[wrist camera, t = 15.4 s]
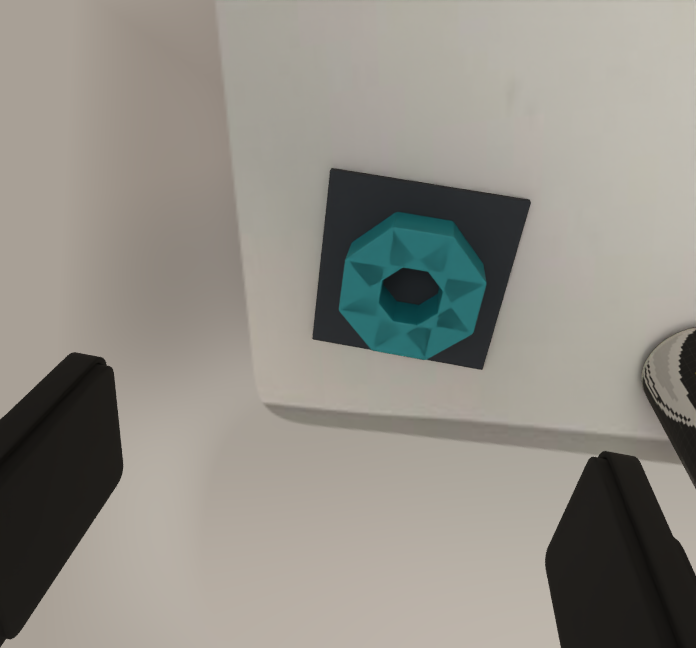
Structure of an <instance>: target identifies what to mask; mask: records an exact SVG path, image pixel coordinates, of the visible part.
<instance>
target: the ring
mask: <svg viewBox="0 0 696 648" xmlns="http://www.w3.org/2000/svg"><path fill="white" fill-rule="evenodd" d="M401 268H409V269H415V270H421V271H426V272H429V274H430V275H431V276H432V278H433V279H434V280H435V282H436V283H437V284H438V286H439V290H438V294H436V295H435V296H433V297H431V298H430V299H428V300H426V301H425V302H423V303H421V304H420V305H416V304H410V303H404V302H399V301H396V300H395V299H394V297H393V296H392V295H391V294H390V292H389V291H388V290H387V288H386V287H385V286H384V285H383V281H384V279H386V278H387V277H389V276H391V275H392V274H394V273H395V272H397V271H398V270H400V269H401ZM485 288H486V277H485V271H484V265H483V263H482V261H481V260H480V259H479V257H478V256H477V254H476V253H475V251H474V250H473V249H472V247H471V246H470V244H469V243H468V241H467V240H466V239H465V237H464V236H463V234H462V233H461V231H460V230H459V229H458V227H457V226H456V224H455V223H454V222H453V221H450V220H444V219H438V218H432V217H426V216H420V215H414V214H407V213H401V212H396V213H394V214H392V215H391V216H389V217H388V218H386V219H385V220H384V221H382V222H381V223H379V224H378V225H376V226H375V227H373V228H372V229H371V230H369V231H368V232H366V233H365V234H363V235H362V236H360V237H359V238H358V239H356V240H355V241H353V242H352V243H351V246H350V249H349V251H348V254H347V256H346V259H345V265H344V272H343V280H342V288H341V296H340V303H339V311H340V313H341V314H342V315H343V316H344V317H345V319H346V320H347V321H348V322H349V323H350V325H351V326H352V327H353V328H354V329H355V331H356V332H357V333H358V334H359V335H360V337H361V338H362V339H363V340H364V341H365V343H366V344H367V345H368V346H369V347H370V349H371V350H373V351H378V352H384V353H389V354H395V355H400V356H406V357H411V358H417V359H422V360H426V359H428V358H430V357H432V356H434V355H436V354H438V353H439V352H441V351H443V350H445V349H447V348H448V347H450V346H452V345H454V344H456V343H457V342H459V341H461V340H463V339H465V338H467V337H468V336H470V335H472V334H473V332H474V329H475V325H476V321H477V318H478V314H479V310H480V307H481V303H482V299H483V296H484V292H485Z"/></svg>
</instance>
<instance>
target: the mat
mask: <svg viewBox="0 0 696 648" xmlns="http://www.w3.org/2000/svg"><path fill="white" fill-rule="evenodd" d="M530 203H531V202H530V200H528V199H522V198H516V197H509V196H503V195H497V194H491V193H484V192H478V191H472V190H466V189H459V188H453V187H447V186H441V185H434V184H428V183H422V182H416V181H409V180H403V179H397V178H391V177H384V176H378V175H372V174H366V173H359V172H353V171H347V170H341V169H334V168H332V169H331V170H330V178H329V187H328V197H327V206H326V215H325V225H324V234H323V244H322V253H321V263H320V272H319V282H318V291H317V301H316V310H315V320H314V329H313V339H314V340H320V341H326V342H331V343H337V344H342V345H348V346H353V347H359V348H364V349H370V347H369V346H368V345H367V344H366V343H365V341H364V340H363V339H362V338H361V337H360V335H359V334H358V333H357V332H356V331H355V329H354V328H353V327H352V326H351V325H350V323H349V322H348V321H347V320H346V319H345V317H344V316H343V315H342V314H341V313H340V311H339V303H340V296H341V288H342V280H343V272H344V265H345V259H346V256H347V254H348V251H349V249H350V246H351V243H352V242H353V241H355V240H356V239H358V238H359V237H360V236H362V235H363V234H365V233H366V232H368V231H369V230H371V229H372V228H373V227H375V226H376V225H378V224H379V223H381V222H382V221H384V220H385V219H386V218H388V217H389V216H391V215H392V214H394V213H396V212H401V213H407V214H414V215H420V216H426V217H432V218H438V219H444V220H450V221H453V222H454V223H455V224H456V226H457V227H458V229H459V230H460V231H461V233H462V234H463V236H464V237H465V239H466V240H467V241H468V243H469V244H470V246H471V247H472V249H473V250H474V251H475V253H476V254H477V256H478V257H479V259H480V260H481V261H482V263H483V265H484V271H485V277H486V288H485V292H484V296H483V299H482V303H481V307H480V310H479V314H478V318H477V321H476V325H475V329H474V332H473V334H472V335H470V336H468V337H467V338H465V339H463V340H461V341H459V342H457V343H456V344H454V345H452V346H450V347H448V348H447V349H445V350H443V351H441V352H439V353H438V354H436V355H434V356H432V357H430V358H428V359H426V360H431V361H436V362H442V363H447V364H453V365H458V366H464V367H470V368H475V369H481V370H482V369H483V366H484V362H485V359H486V355H487V352H488V348H489V345H490V342H491V338H492V335H493V331H494V328H495V324H496V321H497V317H498V314H499V310H500V307H501V304H502V300H503V297H504V293H505V290H506V286H507V283H508V279H509V276H510V272H511V269H512V266H513V262H514V259H515V255H516V252H517V248H518V245H519V241H520V238H521V234H522V231H523V227H524V224H525V221H526V217H527V214H528V210H529V207H530ZM383 285H384V286H385V287H386V288H387V290H388V291H389V292H390V294H391V295H392V296H393V297H394V299H395V300H396V301H399V302H404V303H410V304H416V305H420V304H421V303H423V302H425V301H426V300H428V299H430V298H431V297H433V296H435V295H436V294H438V290H439V286H438V284H437V283H436V282H435V280H434V279H433V278H432V276H431V275H430V274H429V272H426V271H421V270H415V269H409V268H401V269H400V270H398V271H397V272H395V273H394V274H392V275H391V276H389V277H387V278H386V279H384V281H383ZM370 350H371V349H370Z"/></svg>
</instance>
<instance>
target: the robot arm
mask: <svg viewBox="0 0 696 648" xmlns="http://www.w3.org/2000/svg"><path fill="white" fill-rule="evenodd" d="M122 471H123V458H122V448H121V439H120V428H119V419H118V410H117V400H116V390H115V380H114V372H113V369H112V367H110V366H107V365H106V362H105V360H104V359H103V358H102V357H97V356H92V355H86V354H81V353H76V352H74V353H71V354H69V355H68V356H67V357H66V358H65V359H64V360H63V361H61V362H60V363H59V364H58V365H57V366H56V367H55V368H54V369H53V370H52V371H51V372H50V373H49V374H48V375H47V376H46V377H45V378H44V379H43V380H42V381H41V382H39V384H37V385H36V386H35V387H34V388H33V389H32V390H31V391H30V392H29V393H28V394H27V395H26V396H25V397H24V398H23V399H22V400H21V401H20V402H19V403H18V404H16V405H15V406H14V407H13V408H12V409H11V410H10V411H9V412H8V413H7V414H6V415H5V416H4V417H2V418H1V419H0V647H1V645H2V644H3V643H4V641H5V640H6V639H12V638H14V637H15V636H16V635H18V633H19V632H20V631H21V630H22V628H23V627H24V625H25V624H26V622H27V620H28V619H29V617H30V616H31V614H32V613H33V611H34V610H35V608H36V607H37V605H38V604H39V602H40V601H41V599H42V598H43V596H44V595H45V593H46V592H47V590H48V589H49V587H50V586H51V584H52V583H53V581H54V580H55V578H56V577H57V575H58V574H59V572H60V571H61V569H62V567H63V566H64V565H65V563H66V562H67V560H68V559H69V557H70V555H71V554H72V552H73V551H74V549H75V548H76V546H77V545H78V543H79V542H80V540H81V539H82V537H83V536H84V534H85V533H86V531H87V530H88V528H89V527H90V525H91V524H92V522H93V521H94V519H95V518H96V516H97V515H98V513H99V512H100V510H101V509H102V507H103V506H104V504H105V503H106V501H107V500H108V498H109V497H110V495H111V493H112V492H113V491H114V489H115V487H116V486H117V484H118V482H119V481H120V478H121V476H122ZM545 566H546V573H547V578H548V583H549V588H550V593H551V599H552V603H553V609H554V614H555V619H556V624H557V630H558V634H559V640H560V645H561V648H696V576H695V573H694V571H693V569H692V566H691V564H690V562H689V560H688V558H687V555H686V553H685V551H684V549H683V547H682V546H681V544H680V542H679V541H678V540H677V539H675V538H674V537H673V535H672V533H671V530H670V528H669V526H668V524H667V522H666V519H665V517H664V515H663V512H662V510H661V508H660V506H659V504H658V502H657V499H656V497H655V495H654V492H653V490H652V488H651V486H650V483H649V481H648V479H647V476H646V474H645V472H644V470H643V468H642V465H641V463H640V461H639V460H638V458H636V457H634V456H629V455H624V454H618V453H613V452H608V451H603V452H602V453H600V455H599V456H598V458H597V457H591V458H590V459H589V460H588V462H587V464H586V466H585V468H584V470H583V472H582V475H581V477H580V479H579V481H578V484H577V486H576V488H575V490H574V492H573V494H572V496H571V499H570V501H569V503H568V505H567V507H566V509H565V512H564V514H563V516H562V518H561V520H560V522H559V524H558V527H557V529H556V531H555V533H554V535H553V538H552V540H551V542H550V544H549V546H548V548H547V552H546V558H545Z"/></svg>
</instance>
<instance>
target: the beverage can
mask: <svg viewBox="0 0 696 648" xmlns="http://www.w3.org/2000/svg"><path fill="white" fill-rule="evenodd" d="M642 386H643V390H644V392H645V394H646V396H647V398H648V400H649V402H650V404H651V406H652V408H653V410H654V411H655V413H656V415H657V417H658V419H659V421H660V423H661V425H662V426H663V428H664V430H665V432H666V434H667V436H668V438H669V439H670V441H671V443H672V445H673V447H674V449H675V451H676V453H677V454H678V456H679V458H680V460H681V462H682V464H683V466H684V468H685V469H686V471H687V473H688V475H689V477H690V479H691V481H692V483H693V484H694V486H695V488H696V328H691V329H687V330H684V331H682V332H679V333H677V334H675V335H673V336H671V337H669V338H668V339H666V340H665V341H663V342H662V343H661V344H660V345H658V346H657V347H656V348H655V349H654V351H653V352H652V353H651V354H650V355H649V357H648V359H647V361H646V362H645V365H644V368H643V371H642Z"/></svg>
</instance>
